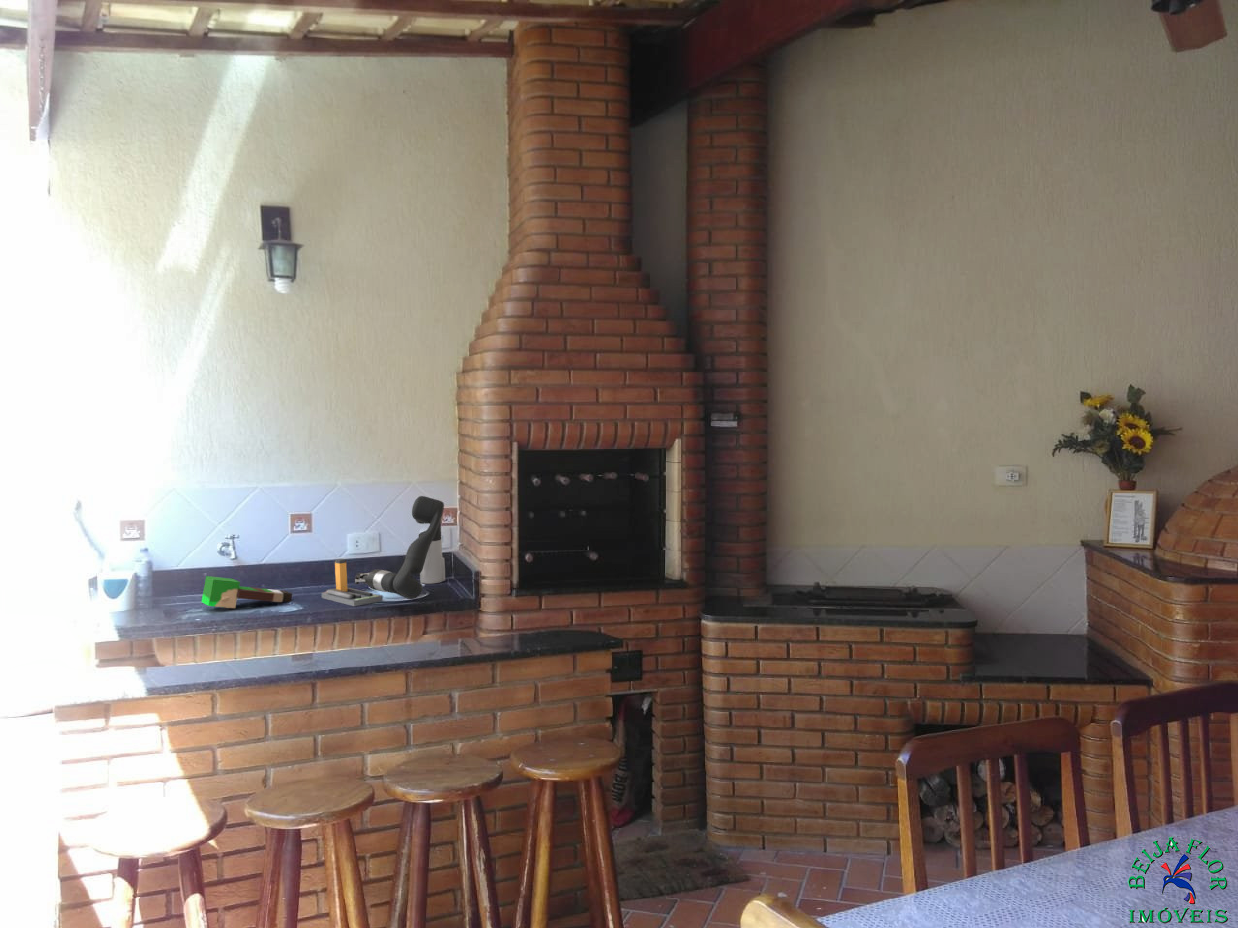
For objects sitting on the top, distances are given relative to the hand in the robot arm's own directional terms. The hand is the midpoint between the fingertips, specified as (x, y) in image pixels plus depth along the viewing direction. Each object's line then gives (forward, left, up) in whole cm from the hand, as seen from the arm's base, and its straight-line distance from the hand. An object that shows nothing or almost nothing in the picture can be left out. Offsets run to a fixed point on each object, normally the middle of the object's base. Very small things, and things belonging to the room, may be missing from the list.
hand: (357, 575), depth 397 cm
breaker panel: (0, -6, -10) cm, 11 cm away
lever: (0, -13, -7) cm, 15 cm away
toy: (+31, -26, -10) cm, 42 cm away
